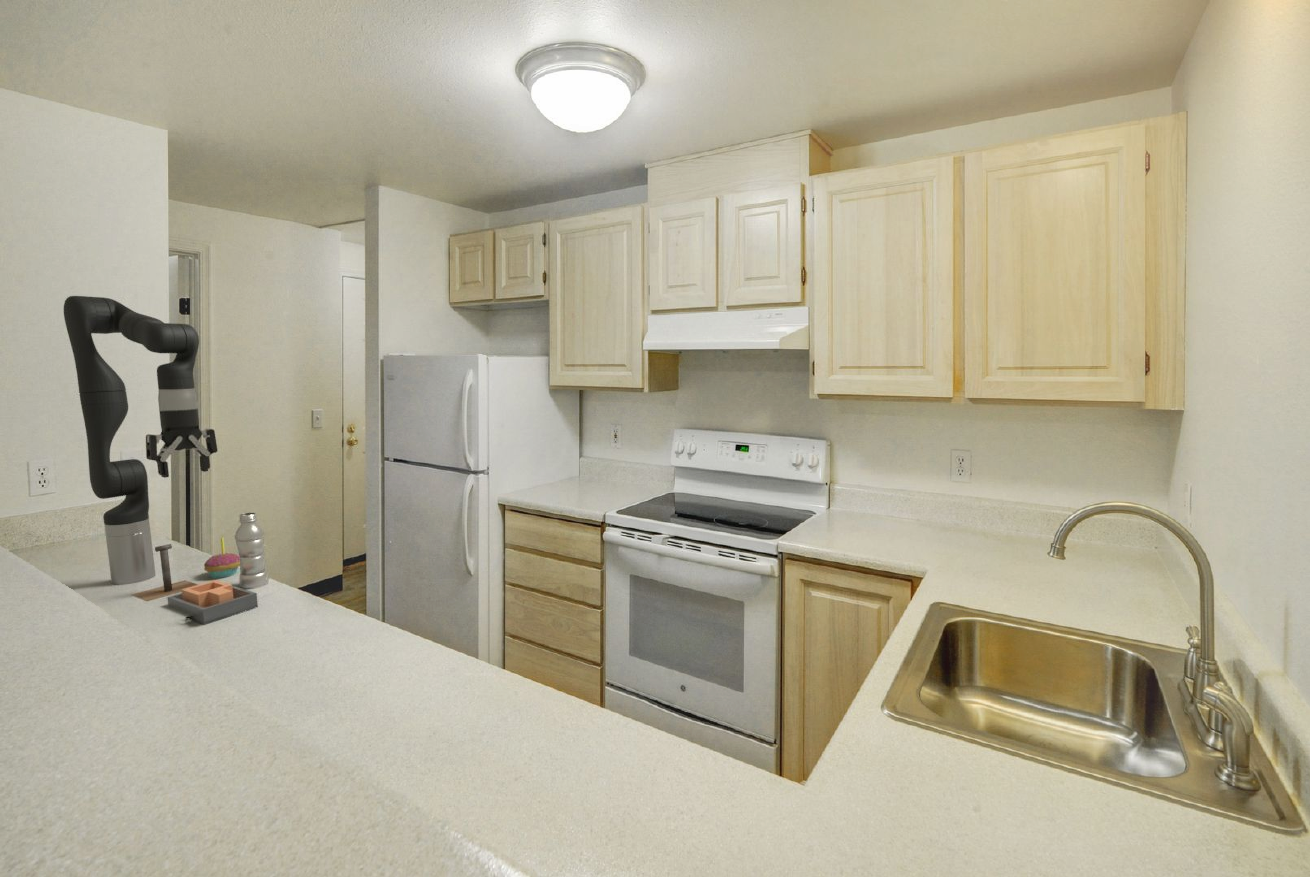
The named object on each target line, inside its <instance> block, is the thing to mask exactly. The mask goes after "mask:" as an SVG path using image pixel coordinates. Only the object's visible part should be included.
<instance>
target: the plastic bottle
mask: <svg viewBox="0 0 1310 877" xmlns="http://www.w3.org/2000/svg"><path fill="white" fill-rule="evenodd" d="M238 517H239V521H238V522H239V523H240V525H239V526H238V528H237V530H236V531H235V534H234V540H235V543H236V547H237V550H238V556H239V557H240V566H239V576H238V577H239V579H238V583H239V588H242V589H245V590H252V589H258V588H261V587H265V586H267V585H269V579H270V578H269V574H268V571H267V568H266V563H265V556H264V542H265V532H264V529H263V528H262V527H261V526H260V525H259V524H258V523H257V521H258V518H257V514H256V512H244V513H240V514H239V516H238ZM266 578H267V579H266Z"/></svg>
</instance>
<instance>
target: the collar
mask: <svg viewBox="0 0 1310 877" xmlns="http://www.w3.org/2000/svg"><path fill="white" fill-rule="evenodd" d="M232 586H233V585H232V584H231V583H227V582H224V581H220V580H216V579H214V580H210V581H207V582H203V583H199V584H198V585H196V586H192V587H189V588H185V589H182V592H181V593H182V599H183V600H184V601H187V602H189V603H192V604H195V605H198V606H201V607H203V608H206V607H210V606H213V605H216V604H219V603H223V602H226V601H229V600H232V599H235V597H234V596H233V588H232Z"/></svg>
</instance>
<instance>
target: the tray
mask: <svg viewBox="0 0 1310 877" xmlns="http://www.w3.org/2000/svg"><path fill="white" fill-rule="evenodd" d="M232 588H233V597H234V599H232V600H229V601H226V602H223V603H219V604H216V605H213V606H210V607H206V608H203V607H201V606H198V605H195V604H192V603H189V602H187V601H184V600H183V599H182V592H179V593H176V594H172V595H169V596H166V597H167V605H168V606H169V607H172V608H174V609H177V610H179V611H182V612H185V613H188V614H189V615H188V616H185V618H186V619H189V620H191V621H192V622H193V621H194V622H196V623H199V624H201V625H204V626H205V625H207V624H211V623H214V622H218V621H220V620H223V619H227V618H229V617H232V615H233V616H235V615H234V614H236V615H239V614H241V613H240V612H242V613H244V612H243V611H245V610H248V611H251V610H254V609H256V608H255V607H257V608H258V607H259V605H258V594H257V592H254V591H251V590H249V589H242V588H241V587H237V586H236V585H232ZM235 597H236V598H235ZM253 608H254V609H253ZM250 609H251V610H250ZM245 612H246V611H245ZM238 613H239V614H238Z"/></svg>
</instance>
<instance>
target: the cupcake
mask: <svg viewBox="0 0 1310 877" xmlns="http://www.w3.org/2000/svg"><path fill="white" fill-rule="evenodd" d="M224 538H225V537H224V536H223V534H221V537H220V546H221V547H220V548H221V553H219V554H215V555H213V556H211V557H209V558H208V559H207V560H206V561H205V562H204V564H203V566H204V571H205V572H207V573H208V574H209V575H210V576H211V578H213V579H219V578H220V579H222V578H227V577H231V576H233V575H236V573H237V571H238V568H239V567H240V556H239V555H238V554H235V553H226V550H225V539H224Z"/></svg>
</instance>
